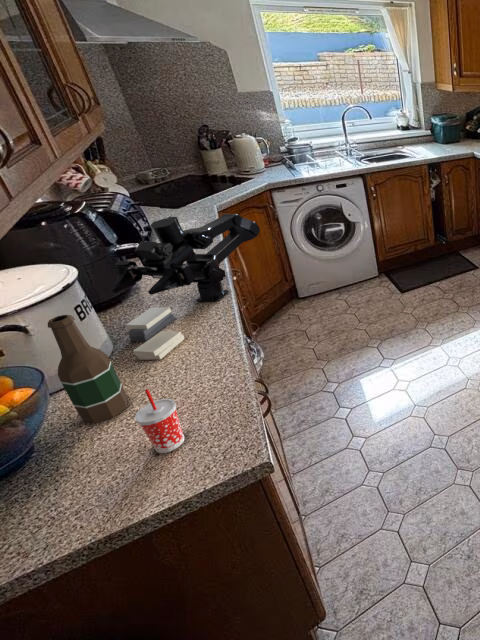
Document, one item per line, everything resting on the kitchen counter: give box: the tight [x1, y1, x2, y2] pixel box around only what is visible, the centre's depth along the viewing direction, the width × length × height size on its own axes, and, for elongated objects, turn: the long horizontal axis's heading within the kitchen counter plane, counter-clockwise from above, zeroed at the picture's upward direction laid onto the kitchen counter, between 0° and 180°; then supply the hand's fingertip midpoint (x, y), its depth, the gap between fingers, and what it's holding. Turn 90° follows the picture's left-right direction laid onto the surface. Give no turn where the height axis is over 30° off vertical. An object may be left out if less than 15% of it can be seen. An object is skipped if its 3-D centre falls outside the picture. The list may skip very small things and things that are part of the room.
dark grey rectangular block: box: [127, 312, 175, 342], centre depth 117 cm, size 11×4×3 cm, turn 2°
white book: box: [125, 307, 172, 330], centre depth 116 cm, size 9×6×1 cm, turn 2°
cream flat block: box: [132, 330, 185, 361], centre depth 109 cm, size 10×6×3 cm, turn 2°
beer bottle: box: [47, 314, 129, 424], centre depth 85 cm, size 8×8×24 cm
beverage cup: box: [134, 388, 186, 454], centre depth 80 cm, size 6×6×14 cm
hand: (131, 292), depth 106 cm, fingers open, 9 cm apart
